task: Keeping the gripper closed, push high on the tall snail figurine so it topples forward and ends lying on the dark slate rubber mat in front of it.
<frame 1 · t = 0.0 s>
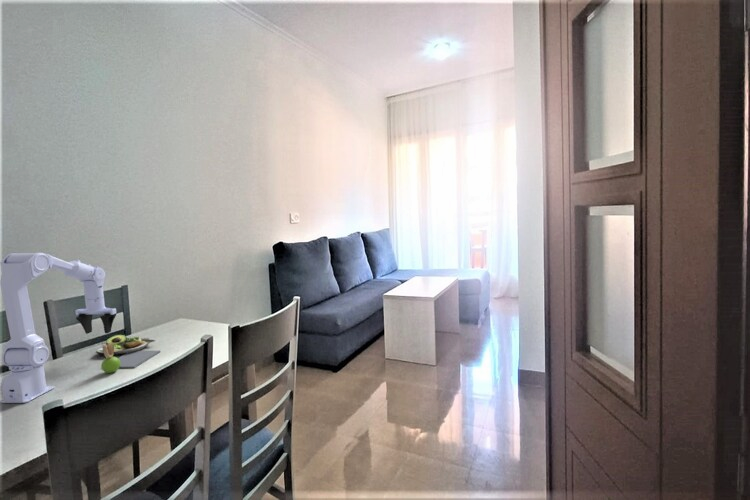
hand: (98, 332, 141), 10 cm above the table, fingers open, 7 cm apart
snail figurine: (111, 373, 129), on the table
slate mat: (132, 359, 140), on the table
salad plate: (124, 348, 151), on the table, touching slate mat
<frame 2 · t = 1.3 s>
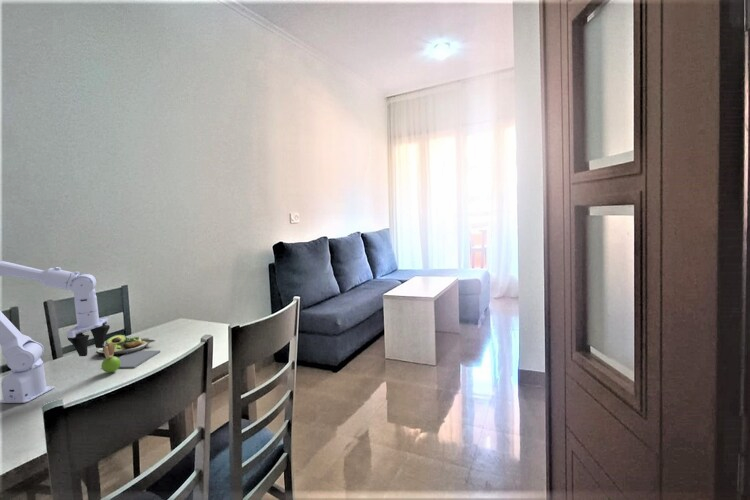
hand: (91, 351, 121), 10 cm above the table, fingers open, 6 cm apart
snail figurine: (111, 372, 129), on the table, touching gripper
everything else where it was.
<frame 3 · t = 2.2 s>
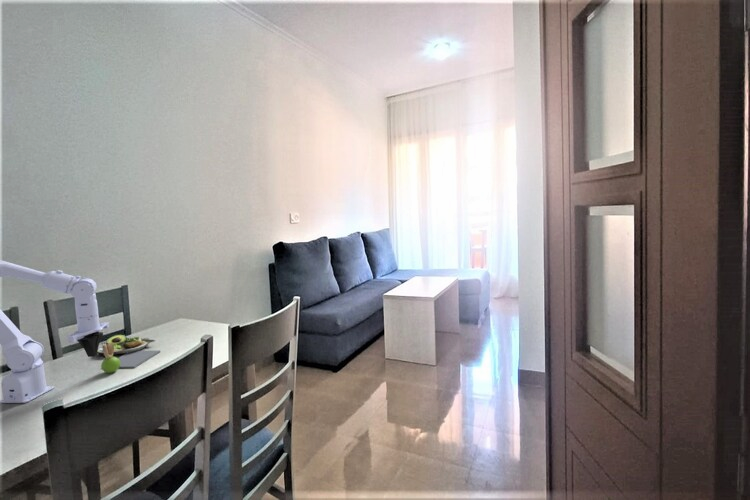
hand: (92, 355, 121), 9 cm above the table, fingers closed
snail figurine: (111, 373, 129), on the table
everything else where it was.
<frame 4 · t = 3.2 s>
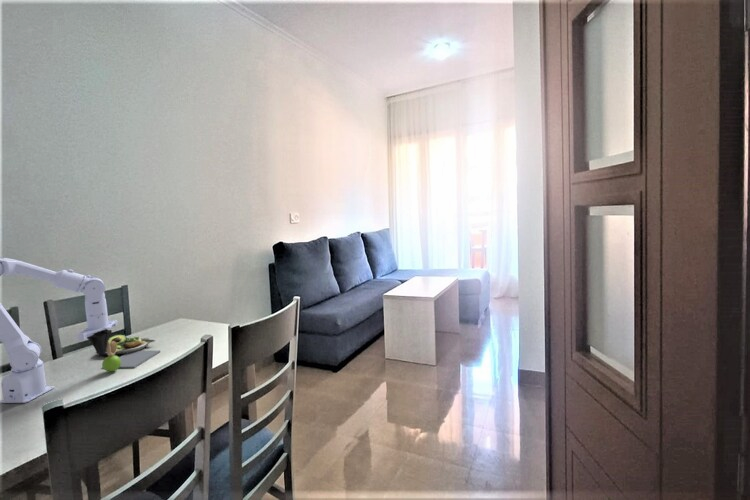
hand: (101, 352, 125), 8 cm above the table, fingers closed
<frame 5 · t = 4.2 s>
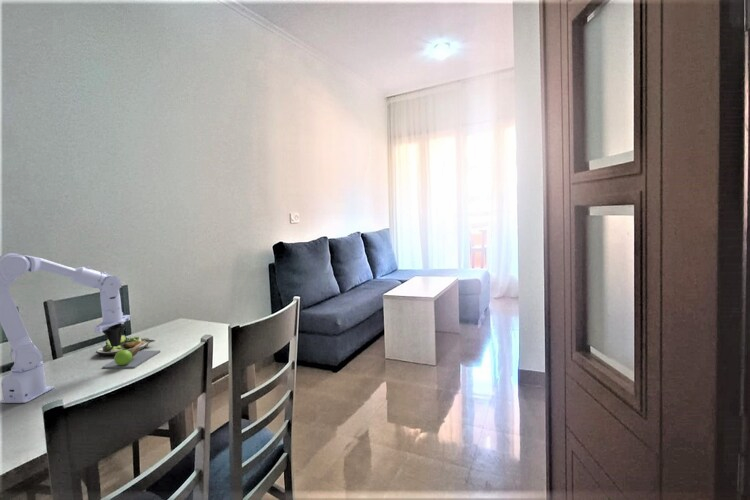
hand: (115, 345, 131), 8 cm above the table, fingers closed
snail figurine: (118, 359, 131), point 4 cm above the table, touching slate mat
everything else where it was.
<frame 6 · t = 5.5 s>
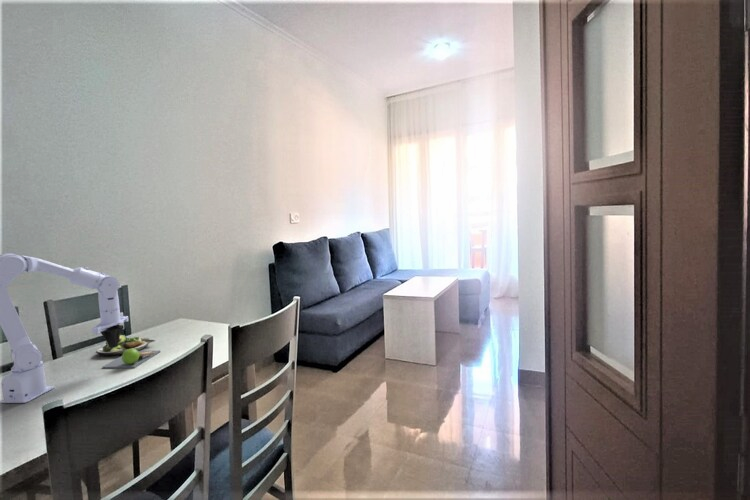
hand: (113, 347, 131), 8 cm above the table, fingers closed
snail figurine: (127, 357, 132), point 4 cm above the table, touching slate mat
everything else where it was.
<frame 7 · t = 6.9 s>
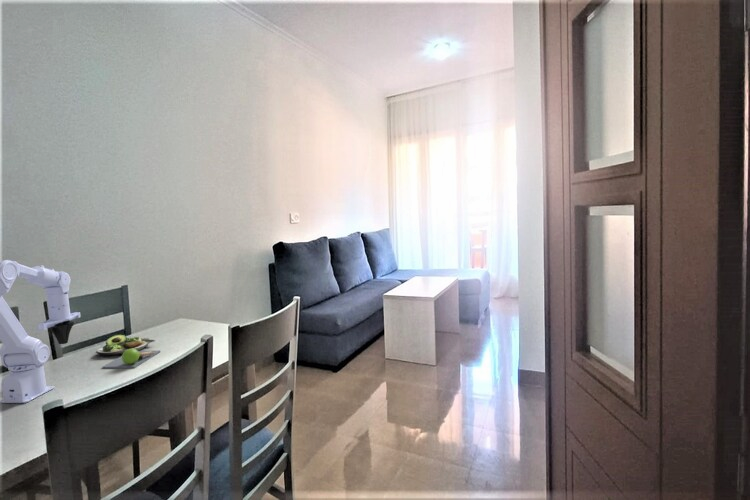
hand: (63, 343, 130), 10 cm above the table, fingers closed
nothing on the table moved.
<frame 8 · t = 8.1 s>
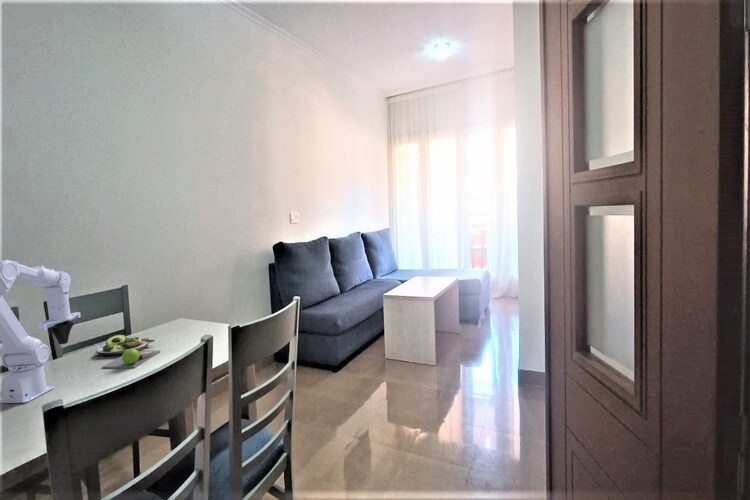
hand: (63, 343, 130), 10 cm above the table, fingers closed
nothing on the table moved.
at the end: snail figurine tilted 106°; snail figurine inside the target area (6.2 cm from its centre), point 4.2 cm above the table; the gripper is holding nothing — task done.
